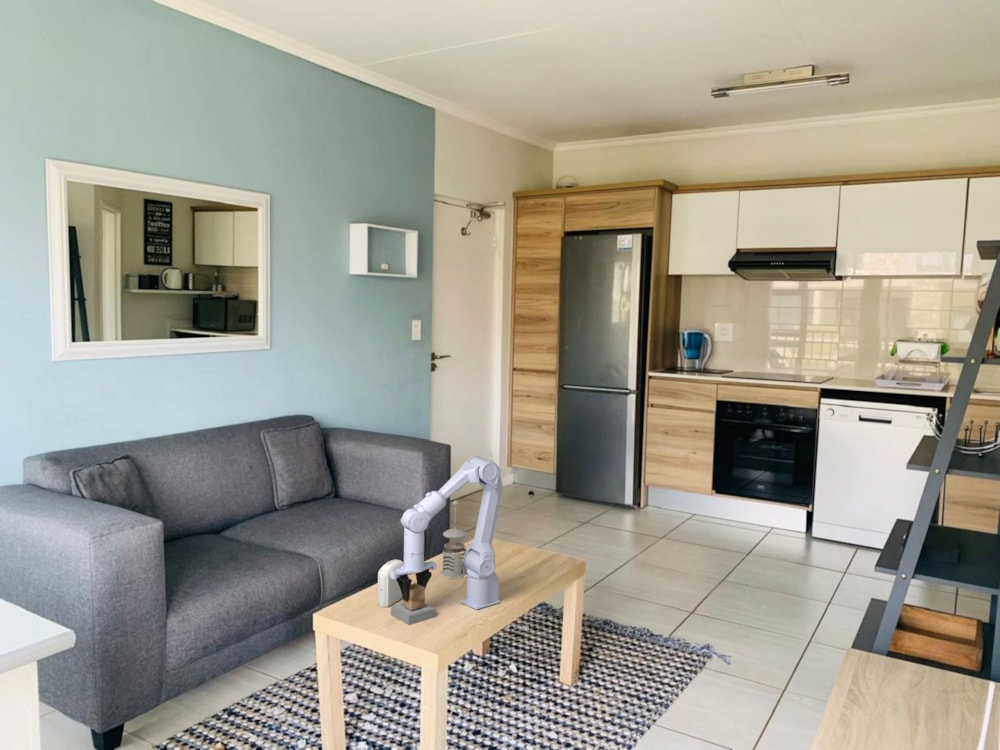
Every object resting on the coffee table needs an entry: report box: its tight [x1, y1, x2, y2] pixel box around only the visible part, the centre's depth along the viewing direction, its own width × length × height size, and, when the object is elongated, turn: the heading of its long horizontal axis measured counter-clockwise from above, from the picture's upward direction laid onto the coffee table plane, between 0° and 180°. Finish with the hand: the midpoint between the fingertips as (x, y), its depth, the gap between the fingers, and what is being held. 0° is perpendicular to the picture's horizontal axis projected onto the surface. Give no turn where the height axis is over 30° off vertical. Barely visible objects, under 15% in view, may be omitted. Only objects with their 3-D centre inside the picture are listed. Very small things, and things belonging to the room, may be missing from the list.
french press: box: [440, 500, 470, 578], centre depth 247 cm, size 10×12×25 cm
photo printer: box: [377, 559, 404, 608], centre depth 222 cm, size 10×4×12 cm, turn 156°
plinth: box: [390, 602, 436, 626], centre depth 212 cm, size 9×9×2 cm
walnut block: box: [402, 582, 426, 610], centre depth 212 cm, size 4×4×6 cm
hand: (413, 598), depth 212 cm, fingers closed on walnut block, 4 cm apart
